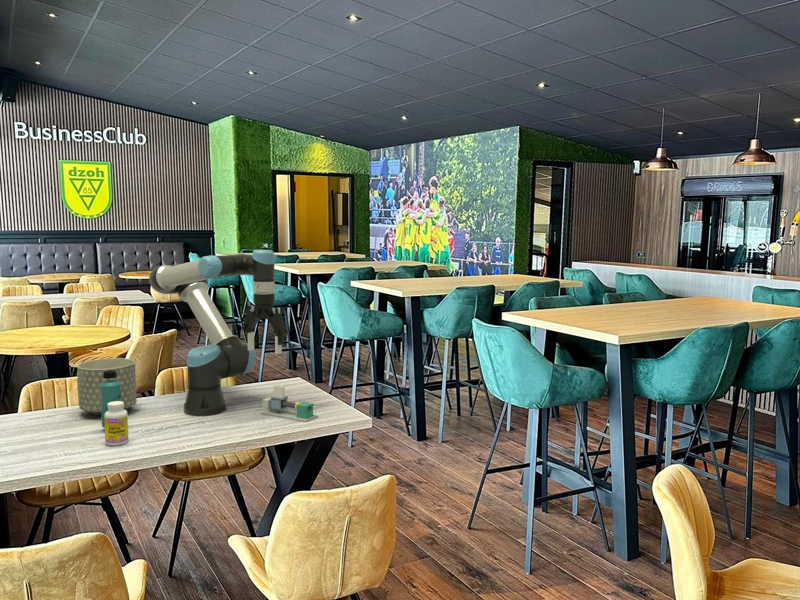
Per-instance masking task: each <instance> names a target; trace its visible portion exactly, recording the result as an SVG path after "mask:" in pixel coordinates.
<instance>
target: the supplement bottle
mask: <svg viewBox="0 0 800 600" xmlns="http://www.w3.org/2000/svg"><path fill="white" fill-rule="evenodd" d="M107 405H108V411H107V412H106V413H105V415H104V418H105V428H104V441H105V444H106V445H107V446H111V447H112V446H115V447H117V446H122V445H125V444H127V443H128V442H129V419H128V418H129V417H128V416H129V415H128V411H127V409H126V410H124V409H123V407H124V402H122V401H114V402H110V403H108V404H107Z"/></svg>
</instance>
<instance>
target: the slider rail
mask: <svg viewBox="0 0 800 600" xmlns="http://www.w3.org/2000/svg"><path fill="white" fill-rule="evenodd" d="M271 397H274V395H273V396H269V397H266V398H264V399H262V411H261V412H260V414H261V415H265V416H271V417H276V418H283V419H288V420H292V421H296V422H301V423H302V422H303V423H308V422H310V421H312V420H314V418H315V419H317V418H318V417H319V416H318V415H316V414H314V403H312V402H306V401H303V402H299V401H297V402H293V401H292V402H291V401H288V402H287V401H281V406H283V407H288V408H289V409H285V410H282V411H274V410H271ZM290 409H295V411H294V410H290ZM316 417H317V418H316Z"/></svg>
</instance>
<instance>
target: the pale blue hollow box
mask: <svg viewBox="0 0 800 600" xmlns="http://www.w3.org/2000/svg"><path fill="white" fill-rule="evenodd" d="M273 396H274V397H272V396H270V397H271V410H274V411H282V410H288V408H289V407H283V406H281V401H287V402H289V400H288V399H289V398H288V397H289V396H288V395H285V386H284V385H278V384H275V385H273Z"/></svg>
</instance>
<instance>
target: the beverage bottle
mask: <svg viewBox="0 0 800 600" xmlns="http://www.w3.org/2000/svg"><path fill="white" fill-rule="evenodd" d="M116 377H117V374H116V371H114V370H109V371H105V372H104V373H103V378H105V379H111V378H116ZM120 385H121V384H120V382H118V381H117V380H106V381H104V382H103V383H102V384H101V385H100V388H101V413H102V416H101V415H100V416H101V421H100V422H101V426H102V427H101V428H104V429H105V418H104V415H105V413H106V412H107V411H108V405H107V404H108V403H110V402H114V401H121V388H120Z"/></svg>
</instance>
